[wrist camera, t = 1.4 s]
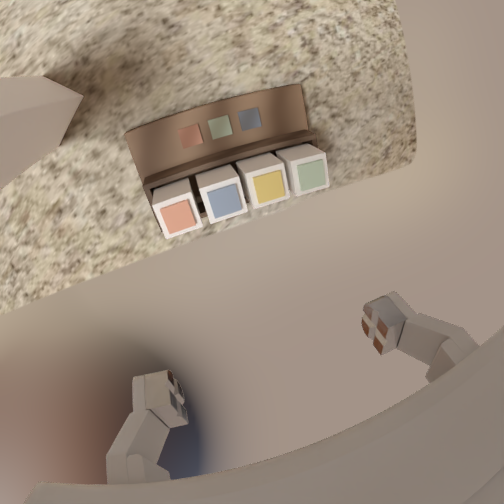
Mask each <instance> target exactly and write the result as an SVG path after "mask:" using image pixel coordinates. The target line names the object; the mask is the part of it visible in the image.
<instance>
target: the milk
mask: <svg viewBox="0 0 504 504" xmlns="http://www.w3.org/2000/svg"><path fill="white" fill-rule="evenodd" d="M83 97H84V96H83V95H81V94H79V93H77V92H75V91H73V90H71V89H69V88H67V87H65V86H63V85H61V84H58V83H56V82H54V81H52V80H50V79H48V78H46V77H44V76H18V77H3V78H0V190H1V189H3V188H4V187H5V186H6V185H7V184H9V183H10V182H11V181H12V180H14V179H15V178H16V177H17V176H19V175H20V174H21V173H23V172H24V171H25V170H27V169H28V168H29V167H31V166H32V165H33V164H35V163H36V162H37V161H39V160H40V159H42V158H43V157H44V156H46V155H47V154H49V153H50V152H52V151H53V150H55V149H56V148H58V147H59V145H60V143H61V141H62V139H63V136H64V134H65V132H66V130H67V128H68V126H69V124H70V122H71V120H72V118H73V116H74V114H75V112H76V110H77V108H78V106H79V104H80V102H81V101H82V99H83Z"/></svg>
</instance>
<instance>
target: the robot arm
mask: <svg viewBox="0 0 504 504" xmlns="http://www.w3.org/2000/svg"><path fill="white" fill-rule="evenodd" d="M363 311H364V312H365V314H364V315H363V317H362V322H361V323H362V328H363V330H364V332H365V334H366V335H367V337H368V338H371V339H373V345H374V347H375V348H376V349H377V351H378V352H379V353H380V355H383V354H385V353H387V352H389V351H391V350H393V349H395V348H397V349H398V350H400V351H402V352H404V353H406V354H408V355H410V356H412V357H414V358H416V359H418V360H420V361H422V362H424V363H425V364H427V365H429V366H430V368H429V369H428V371H427V373H426V376H425V377H426V379H427V380H428V382H429V383H430V384H428V385H426V386H425V387H423V388H422V389H421V390H419V391H417V392H415V393H414V394H413V395H411V396H409V397H407V398H406V399H404V400H402V401H400V402H399V403H397V404H395V405H394V406H392V407H390V408H388V409H387V410H384V411H383V412H381V413H379V414H377V415H375V416H373V417H371V418H369V419H367V420H365V421H363V422H361V423H359V424H357V425H355V426H353V427H351V428H348V429H346V430H344V431H342V432H340V433H338V434H335V435H333V436H330V437H328V438H326V439H323V440H321V441H318V442H316V443H313V444H311V445H308V446H306V447H303V448H300V449H297V450H294V451H291V452H289V453H286V454H283V455H280V456H277V457H274V458H270V459H267V460H264V461H260V462H257V463H253V464H249V465H246V466H242V467H238V468H234V469H230V470H225V471H221V472H217V473H212V474H207V475H201V476H195V477H190V478H183V479H176V480H170V476H169V472H168V471H167V470H165V469H163V468H161V467H160V466H158V465H156V464H157V461H158V458H159V456H160V453H161V451H162V448H163V445H164V443H165V440H166V437H167V435H168V432H169V430H170V429H169V428H172V427H177V426H181V425H185V424H188V418H187V412H186V409H185V408H184V407H183V406H182V404H183V403H184V395H183V392H182V388H181V386H180V384H179V382H178V381H177V380H176V379H173V374H172V372H171V371H170V370H166V371H161V372H157V373H151V374H147V375H142V376H137V377H134V378H133V413H130V414H129V416H128V418H127V420H126V421H125V423H124V425H123V427H122V428H121V430H120V432H119V434H118V436H117V437H116V439H115V441H114V443H113V444H112V446H111V448H110V450H109V452H108V453H107V455H106V466H107V481H108V485H83V484H64V483H54V482H39V483H38V484H37V485H36V486H35V487H34V488H33V489H32V491H31V492H30V494H29V495H28V497H27V498H26V500H25V502H24V504H504V326H503V327H502V328H501V329H499V330H498V331H497V332H496V333H495V334H494V335H493V336H492V337H490V338H489V339H488V340H487V341H486V342H485V343H483V344H482V345H481V346H479V345H478V344H477V343H476V342H475V341H474V339H473V338H472V337H471V336H470V335H469V334H468V333H467V332H466V331H465V329H464V328H462V327H458V326H456V325H453V324H450V323H447V322H444V321H442V320H439V319H436V318H433V317H430V316H427V315H424V314H421V313H419V314H417V313H416V312H415V311H414V310H413V309H412V308H411V307H410V306H409V305H408V304H407V303H406V301H405V300H404V299H403V298H402V297H401V296H400V295H399V294H398V293H397V292H395V291H393V292H391V293H389V294H386V295H384V296H381V297H379V298H377V299H375V300H372V301H370V302H368V303H366V304H365V305H364V307H363Z"/></svg>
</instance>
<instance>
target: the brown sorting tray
mask: <svg viewBox="0 0 504 504" xmlns="http://www.w3.org/2000/svg"><path fill="white" fill-rule="evenodd" d="M124 135H125V138H126V141H127V144H128V147H129V149H130V152H131V155H132V157H133V160H134V163H135V165H136V168H137V171H138V173H139V176H140V178H141V181H142V184H143V189H144V191H145V194H146V196H147V199H148V201H149V203H150V206H151V208H152V211H153V213H154V215H155V218H156V220H157V223H158V225H159V227H160V229H161V232H163V231H162V228H161V226H160V224H159V221H158V219H157V216H156V214H155V212H154V209H153V207H152V201H153V193H154V190H155V189H157V188H160V187H163V186H165V185H168V184H171V183H174V182H177V181H180V180H182V179H185V178H188V179H189V181H190V184H191V187H192V190H193V193H194V196H195V199H196V202H197V205H198V208H199V212H200V216H201V218H203V217H206V216H208V215H207V212H206V209H205V206H204V203H203V200H202V197H201V194H200V191H199V187H198V184H197V180H196V176H195V175H197V174H200V173H203V172H206V171H209V170H212V169H216V168H219V167H222V166H225V165H228V164H230V165H231V166H232V167H233V169H234V170H235V171H236V173H237V174H238V176H239V173H238V169H237V165H236V162H237V161H241V160H244V159H247V158H251V157H254V156H258V155H262V154H265V153H269V152H270V153H271V154H273V155H274V156H275V157H277V156H276V151H278V150H282V149H286V148H290V147H294V146H298V145H302V144H306V143H308V144H310V145H312V146H314V147H316V148H318V145H317V139H316V134H314V133H312V132H309V130H308V124H307V118H306V112H305V106H304V101H303V95H302V90H301V85H300V84H293V85H287V86H281V87H276V88H271V89H266V90H261V91H256V92H252V93H247V94H243V95H239V96H235V97H231V98H227V99H223V100H219V101H215V102H212V103H208V104H205V105H201V106H198V107H195V108H191V109H188V110H185V111H182V112H179V113H176V114H173V115H170V116H167V117H164V118H161V119H158V120H156V121H153V122H150V123H147V124H145V125H142V126H140V127H137V128H134V129H132V130H129V131H127V132H126V133H125V134H124ZM239 178H240V177H239ZM240 182H241V181H240ZM241 186H242V185H241ZM242 190H243V189H242ZM243 194H244V193H243ZM244 198H245V202H246V203H249V201H248V199H247V198H246V196H245V195H244Z"/></svg>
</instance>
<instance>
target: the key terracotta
mask: <svg viewBox="0 0 504 504" xmlns="http://www.w3.org/2000/svg"><path fill="white" fill-rule="evenodd" d="M152 207H153V209H154V212H155V214H156V216H157V219H158V221H159V224H160V226H161V228H162V231H163V233H164V235H165V237H166V239H169V238H172V237H174V236H177V235H180V234H183V233H186V232H189V231H192V230H194V229H197V228H200V227H203V224H202V220H201V216H200V212H199V208H198V205H197V202H196V199H195V196H194V193H193V190H192V187H191V184H190V181H189V179H188V178H185V179H182V180H180V181H177V182H174V183H171V184H168V185H165V186H163V187H160V188H157V189H155V190H154V193H153V201H152Z"/></svg>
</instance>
